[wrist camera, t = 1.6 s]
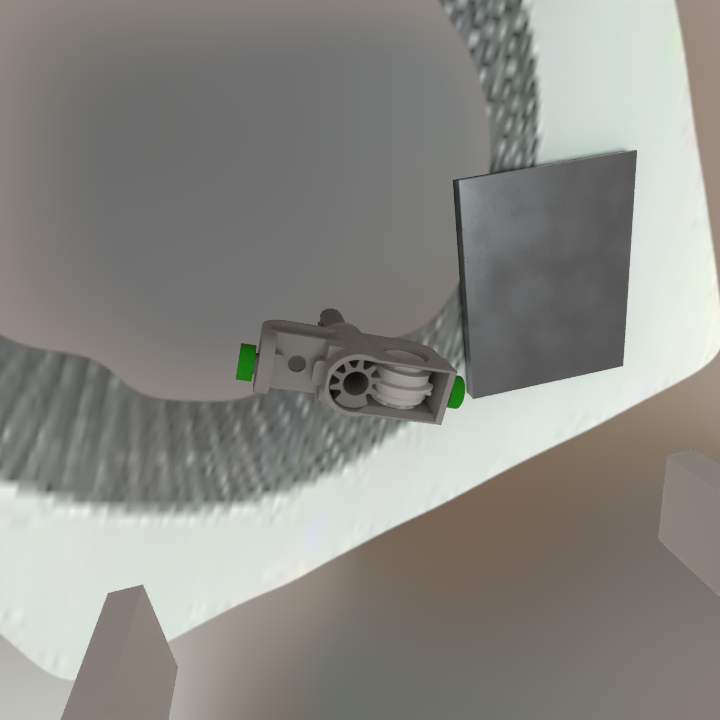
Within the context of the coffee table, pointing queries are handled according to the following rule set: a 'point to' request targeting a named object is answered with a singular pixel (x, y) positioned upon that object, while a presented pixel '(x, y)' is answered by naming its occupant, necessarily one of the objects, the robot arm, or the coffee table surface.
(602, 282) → the plate
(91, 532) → the coffee table surface
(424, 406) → the mechanical component
